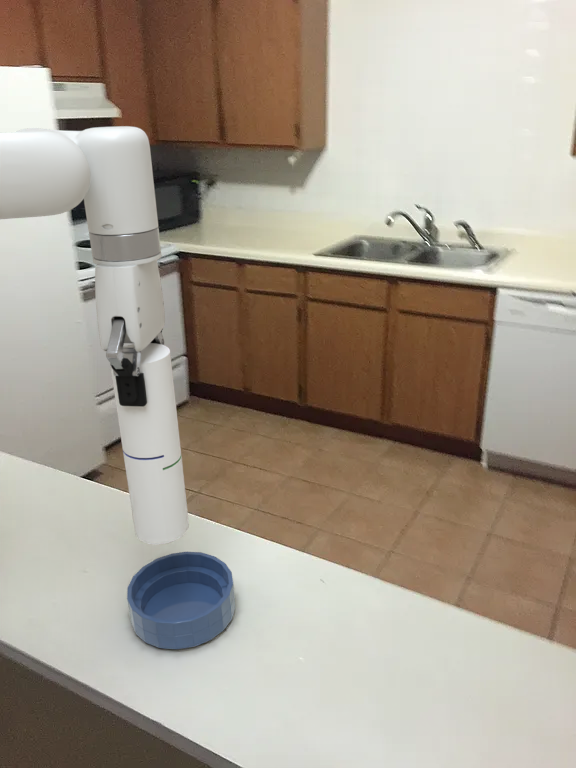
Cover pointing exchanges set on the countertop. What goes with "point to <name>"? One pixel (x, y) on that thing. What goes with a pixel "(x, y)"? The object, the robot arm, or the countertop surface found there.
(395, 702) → the countertop surface
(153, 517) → the cylindrical container
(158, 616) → the bowl
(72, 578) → the countertop surface
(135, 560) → the countertop surface
